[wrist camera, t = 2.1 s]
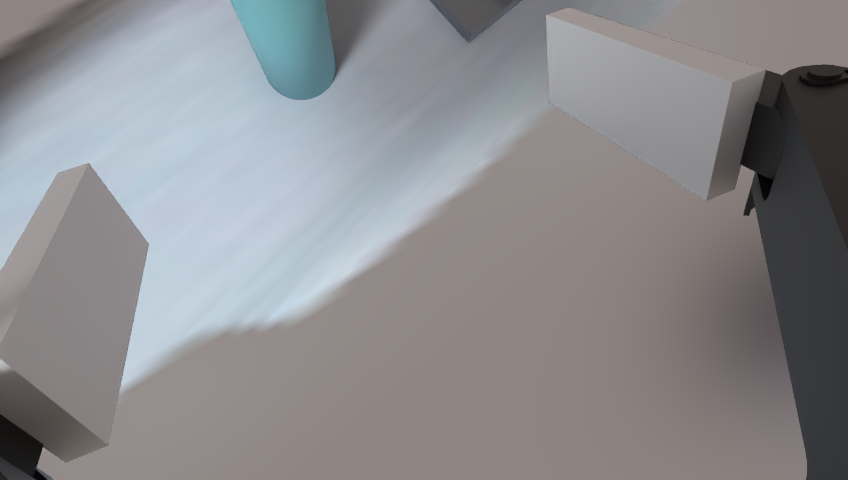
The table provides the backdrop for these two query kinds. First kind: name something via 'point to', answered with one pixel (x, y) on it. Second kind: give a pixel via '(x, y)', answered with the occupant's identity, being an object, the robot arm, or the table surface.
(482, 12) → the stand
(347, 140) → the table surface
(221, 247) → the table surface
